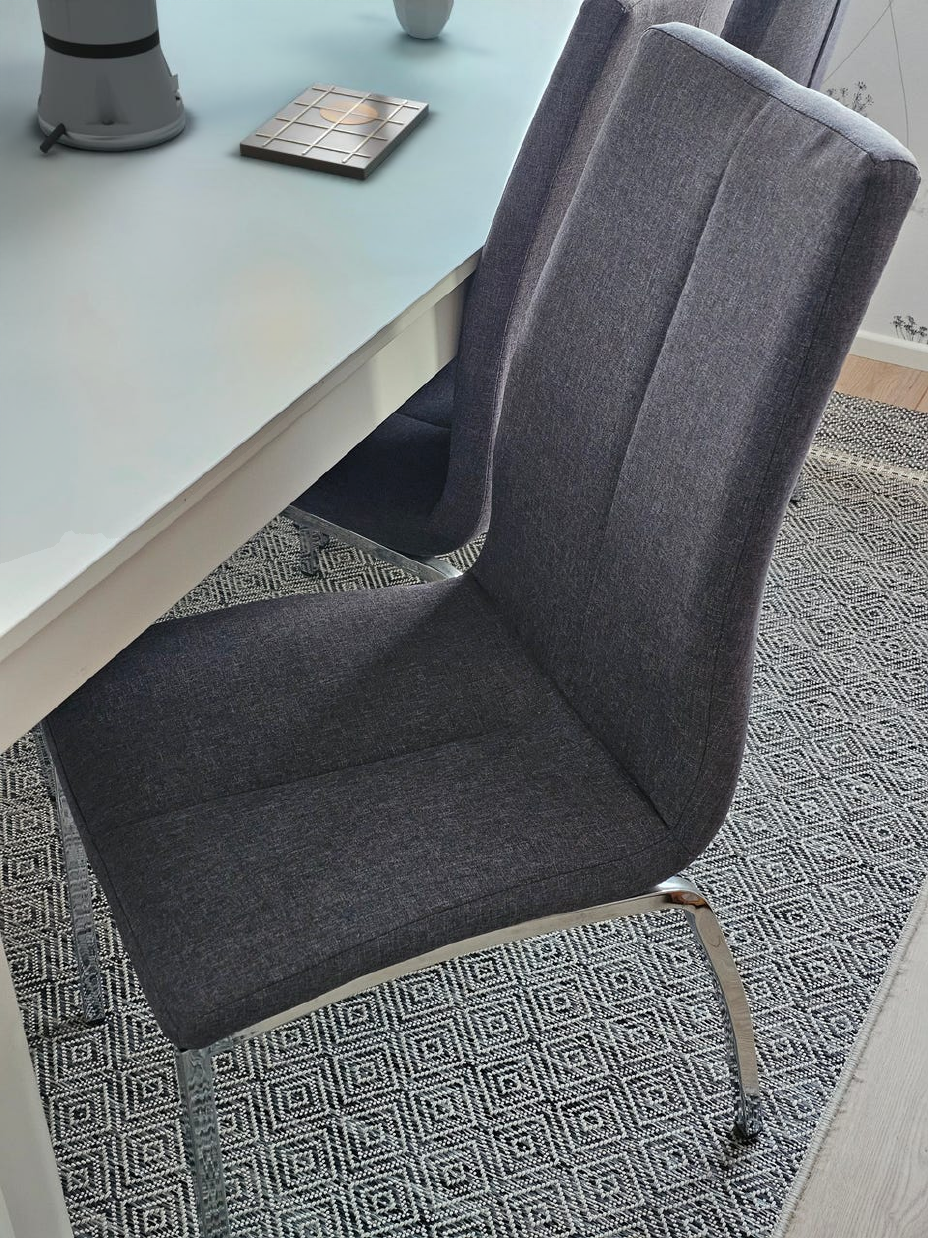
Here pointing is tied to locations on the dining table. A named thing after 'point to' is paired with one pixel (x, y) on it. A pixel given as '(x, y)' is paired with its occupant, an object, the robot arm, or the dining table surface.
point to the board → (335, 130)
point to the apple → (423, 16)
